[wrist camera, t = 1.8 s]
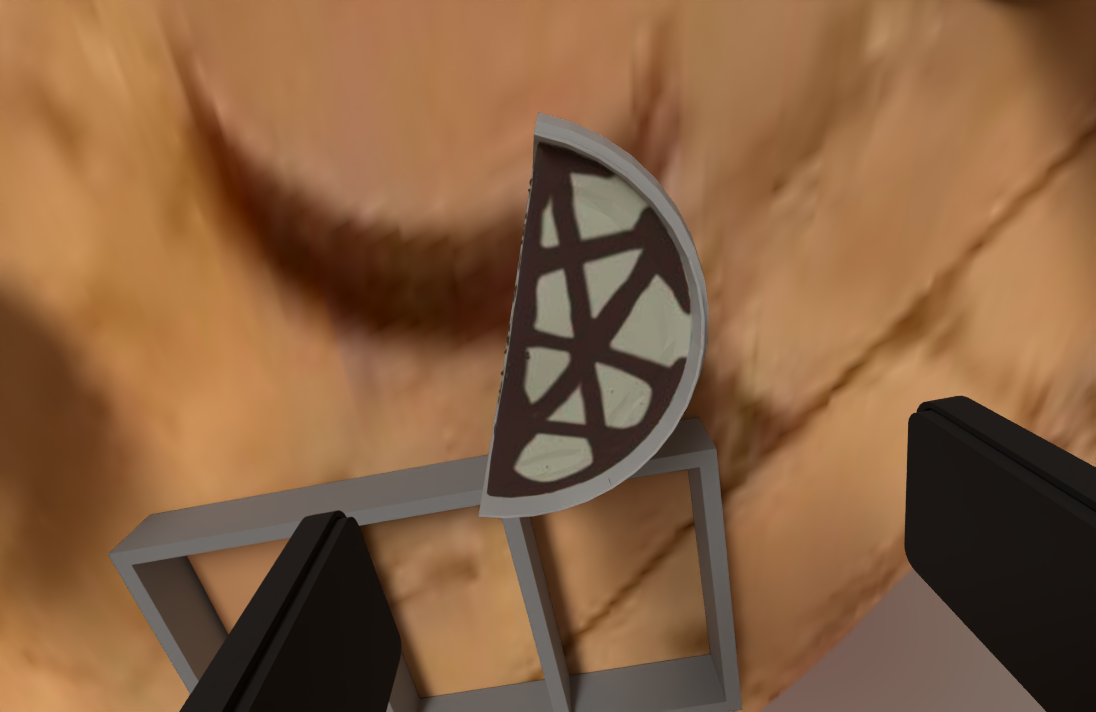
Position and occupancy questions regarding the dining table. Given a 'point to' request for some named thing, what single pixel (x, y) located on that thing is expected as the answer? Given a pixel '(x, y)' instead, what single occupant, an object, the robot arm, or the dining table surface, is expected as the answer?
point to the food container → (593, 328)
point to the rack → (270, 520)
